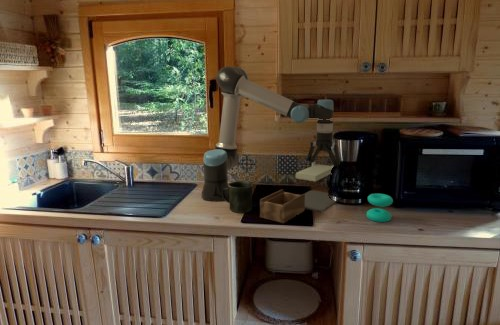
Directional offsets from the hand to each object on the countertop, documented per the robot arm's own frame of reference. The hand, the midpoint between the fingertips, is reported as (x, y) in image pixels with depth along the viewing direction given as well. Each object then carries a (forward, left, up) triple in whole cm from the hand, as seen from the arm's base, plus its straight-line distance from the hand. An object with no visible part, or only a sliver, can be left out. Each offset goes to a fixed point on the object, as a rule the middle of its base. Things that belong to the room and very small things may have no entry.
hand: (323, 176), depth 177 cm
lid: (0, -8, +2) cm, 8 cm away
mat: (0, -7, -11) cm, 13 cm away
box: (-4, -32, -11) cm, 34 cm away
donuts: (+32, -13, -11) cm, 36 cm away
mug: (-24, -39, -11) cm, 47 cm away
